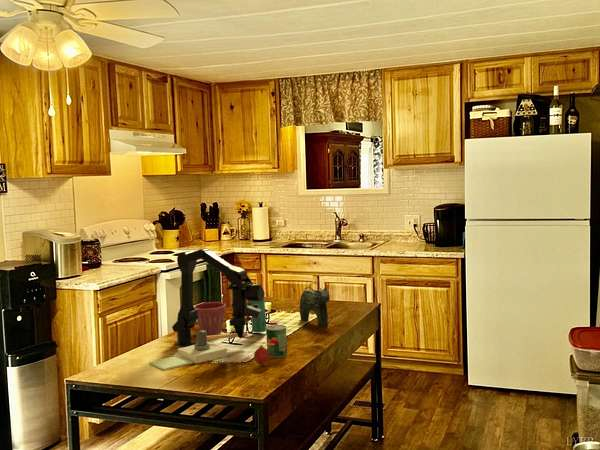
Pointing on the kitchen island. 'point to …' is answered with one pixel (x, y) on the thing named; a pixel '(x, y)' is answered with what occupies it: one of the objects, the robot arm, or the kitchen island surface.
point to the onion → (261, 356)
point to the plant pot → (211, 316)
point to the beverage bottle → (259, 318)
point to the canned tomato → (276, 340)
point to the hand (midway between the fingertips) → (240, 338)
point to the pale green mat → (170, 362)
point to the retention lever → (224, 336)
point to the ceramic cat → (315, 304)
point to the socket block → (202, 353)
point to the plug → (201, 341)
